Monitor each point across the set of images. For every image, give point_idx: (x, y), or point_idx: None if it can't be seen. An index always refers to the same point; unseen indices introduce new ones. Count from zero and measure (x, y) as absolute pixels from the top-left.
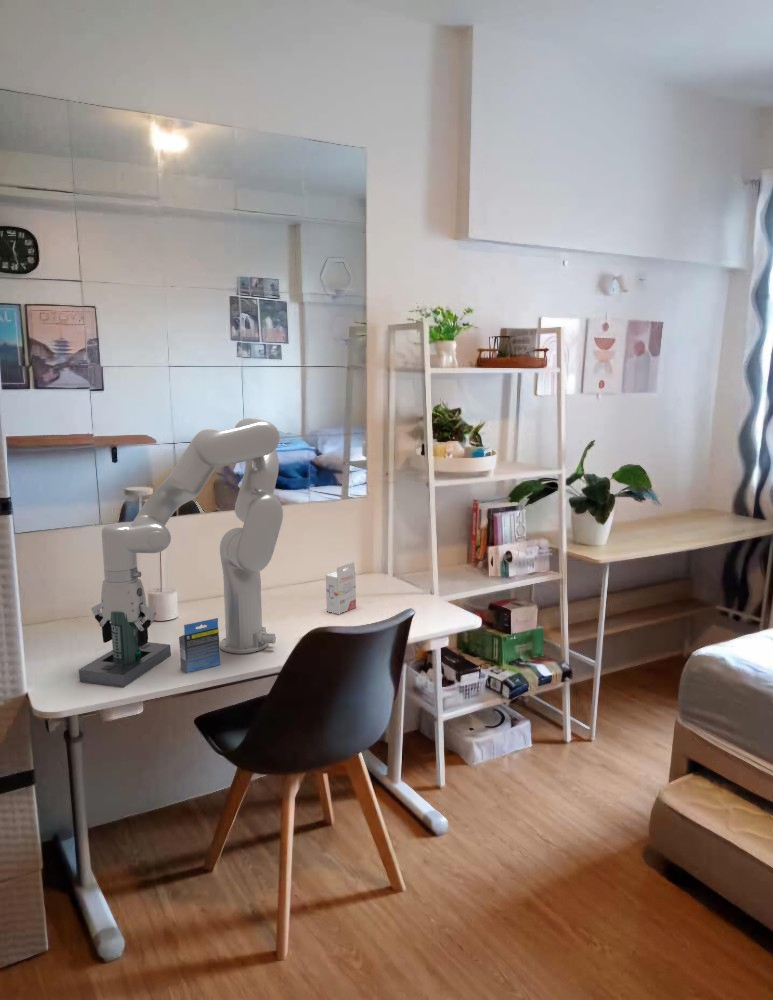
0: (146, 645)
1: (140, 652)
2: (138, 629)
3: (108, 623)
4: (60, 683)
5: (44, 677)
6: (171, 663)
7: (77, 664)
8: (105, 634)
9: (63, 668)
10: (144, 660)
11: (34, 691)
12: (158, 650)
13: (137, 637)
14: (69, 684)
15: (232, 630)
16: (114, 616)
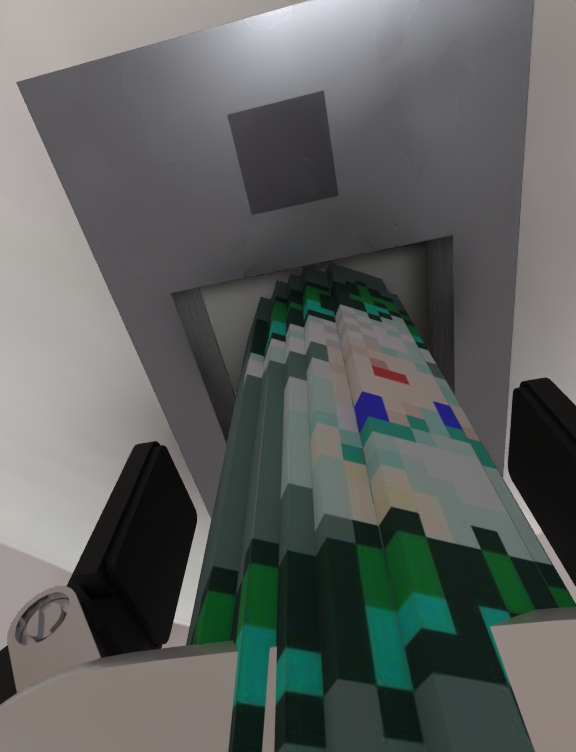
0: (306, 129)
1: (422, 342)
2: (501, 493)
3: (116, 633)
4: (190, 557)
5: (78, 549)
6: (572, 135)
7: (36, 419)
8: (182, 579)
9: (37, 473)
10: (500, 380)
11: (177, 614)
12: (496, 171)
13: (548, 539)
14: None
15: None
16: None
